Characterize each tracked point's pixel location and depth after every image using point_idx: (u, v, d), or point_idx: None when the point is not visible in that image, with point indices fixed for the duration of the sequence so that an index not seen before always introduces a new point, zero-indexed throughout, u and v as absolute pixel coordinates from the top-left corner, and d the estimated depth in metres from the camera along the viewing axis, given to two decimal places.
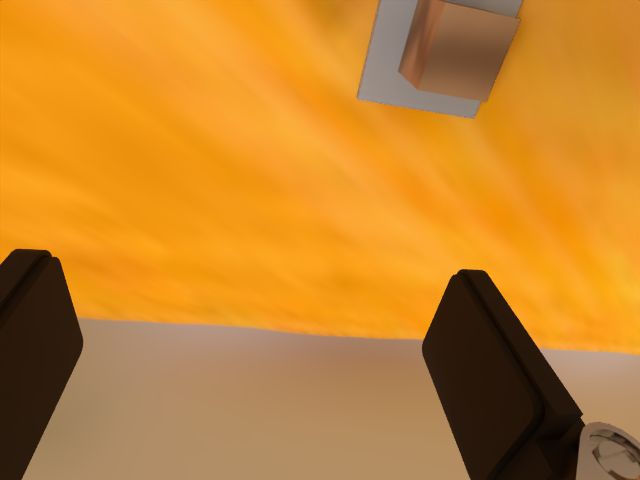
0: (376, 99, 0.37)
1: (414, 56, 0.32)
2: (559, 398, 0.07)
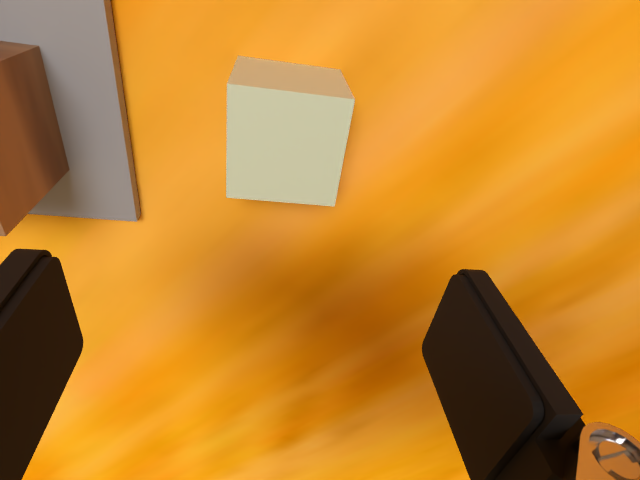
0: None
1: None
2: (559, 398, 0.07)
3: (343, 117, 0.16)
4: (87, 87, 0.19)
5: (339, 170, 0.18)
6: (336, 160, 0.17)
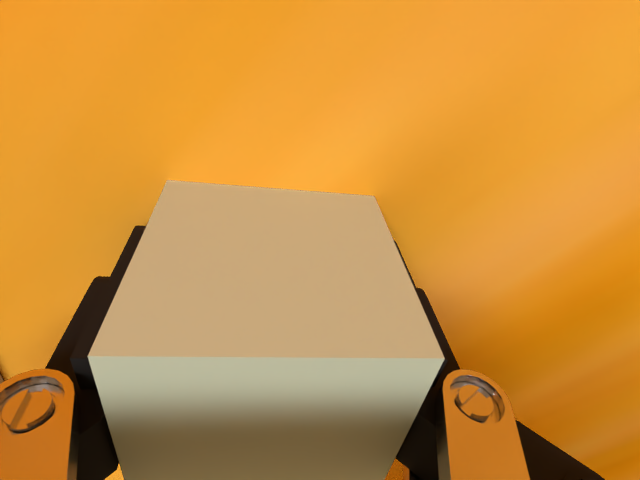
0: None
1: None
2: None
3: (410, 388, 0.06)
4: None
5: (389, 461, 0.08)
6: (384, 449, 0.07)
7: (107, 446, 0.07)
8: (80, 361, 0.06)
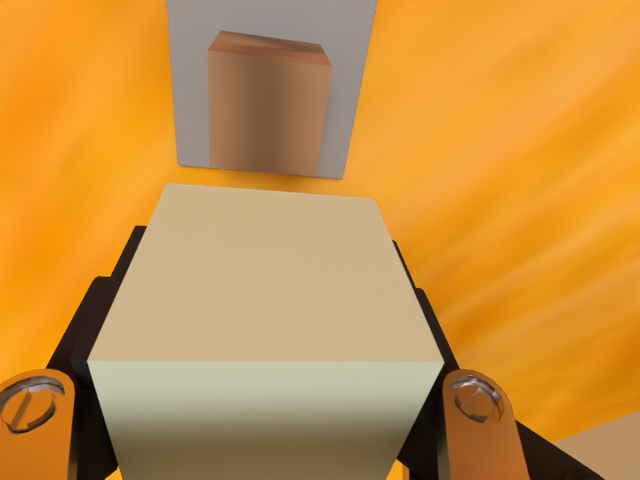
0: None
1: (250, 44, 0.21)
2: None
3: (409, 392, 0.06)
4: (342, 74, 0.26)
5: (389, 464, 0.08)
6: (384, 452, 0.07)
7: (107, 446, 0.07)
8: (80, 361, 0.06)
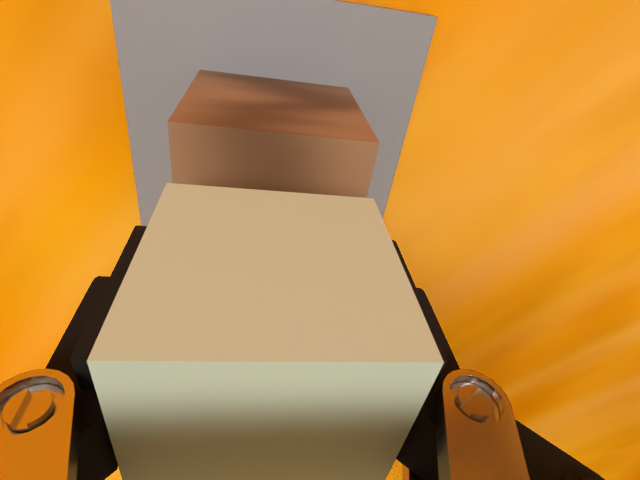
0: (121, 23, 0.14)
1: (243, 98, 0.13)
2: None
3: (409, 392, 0.06)
4: (378, 128, 0.18)
5: (388, 464, 0.08)
6: (383, 452, 0.07)
7: (107, 446, 0.07)
8: (80, 361, 0.06)
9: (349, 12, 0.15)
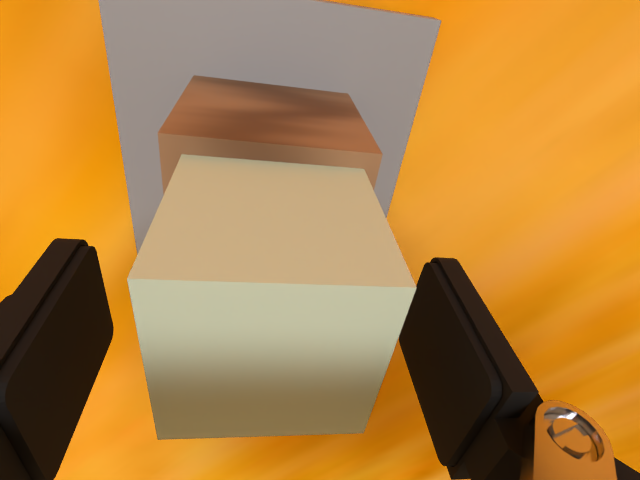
0: (111, 27, 0.14)
1: (238, 106, 0.13)
2: (517, 377, 0.07)
3: (389, 316, 0.08)
4: (379, 135, 0.17)
5: (375, 389, 0.09)
6: (370, 377, 0.09)
7: None
8: None
9: (349, 16, 0.14)
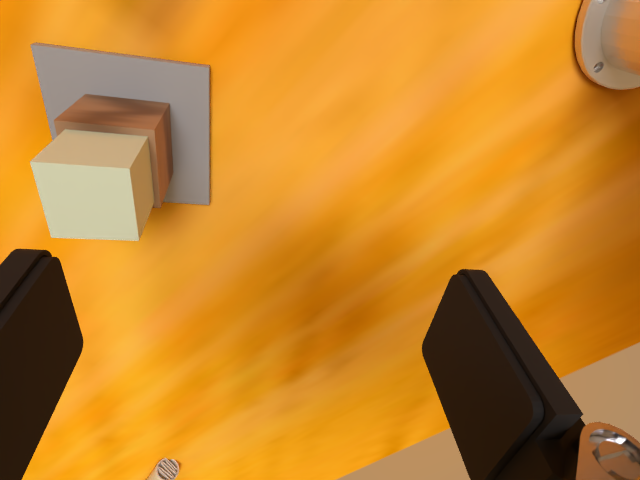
0: (41, 71, 0.29)
1: (99, 109, 0.28)
2: (559, 398, 0.07)
3: (124, 180, 0.23)
4: (192, 125, 0.32)
5: (134, 215, 0.24)
6: (129, 209, 0.24)
7: None
8: None
9: (160, 65, 0.29)
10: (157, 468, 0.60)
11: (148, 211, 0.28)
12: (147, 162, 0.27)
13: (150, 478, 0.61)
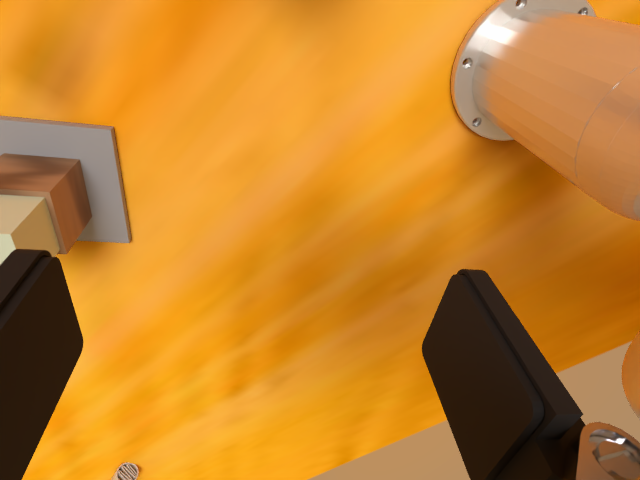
0: None
1: (8, 171, 0.32)
2: (559, 398, 0.07)
3: (8, 243, 0.27)
4: (103, 176, 0.36)
5: None
6: None
7: None
8: None
9: (67, 129, 0.34)
10: (117, 472, 0.65)
11: None
12: (44, 219, 0.31)
13: None
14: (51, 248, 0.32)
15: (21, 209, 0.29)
